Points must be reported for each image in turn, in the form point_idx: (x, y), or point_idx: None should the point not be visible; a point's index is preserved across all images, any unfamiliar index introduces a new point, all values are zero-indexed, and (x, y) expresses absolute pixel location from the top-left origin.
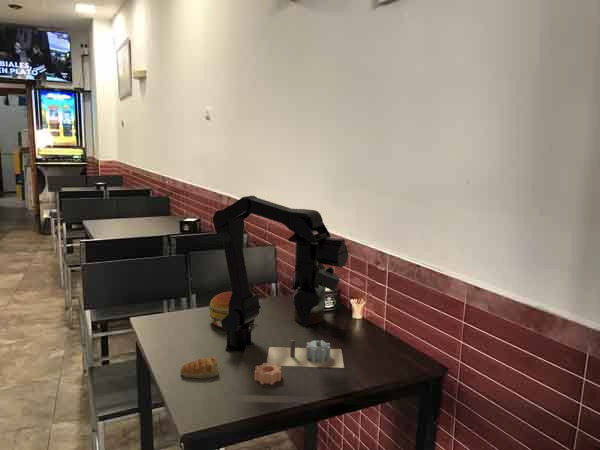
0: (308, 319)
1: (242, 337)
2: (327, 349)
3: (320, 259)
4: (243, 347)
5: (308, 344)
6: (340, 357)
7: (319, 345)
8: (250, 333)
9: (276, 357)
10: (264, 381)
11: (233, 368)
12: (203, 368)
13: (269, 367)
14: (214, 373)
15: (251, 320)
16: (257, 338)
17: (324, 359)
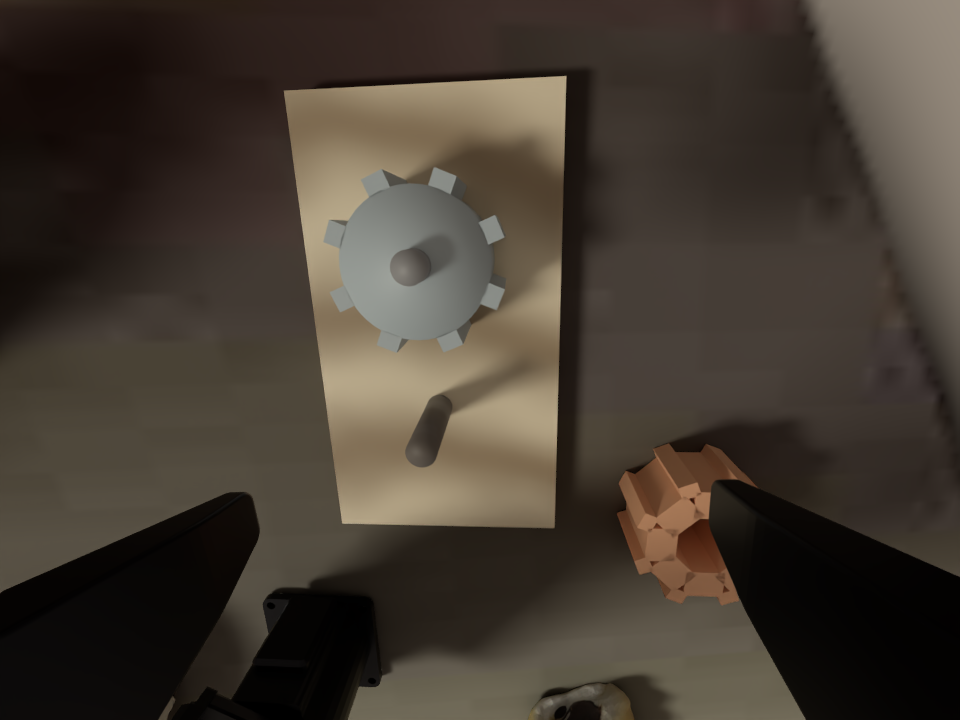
0: (856, 534)
1: (339, 679)
2: (454, 192)
3: None
4: (355, 624)
5: (413, 338)
6: (413, 100)
7: (428, 257)
8: (306, 661)
9: (461, 485)
10: None
11: (546, 636)
12: None
13: (674, 536)
14: (630, 708)
15: (205, 712)
16: None
17: (479, 216)
